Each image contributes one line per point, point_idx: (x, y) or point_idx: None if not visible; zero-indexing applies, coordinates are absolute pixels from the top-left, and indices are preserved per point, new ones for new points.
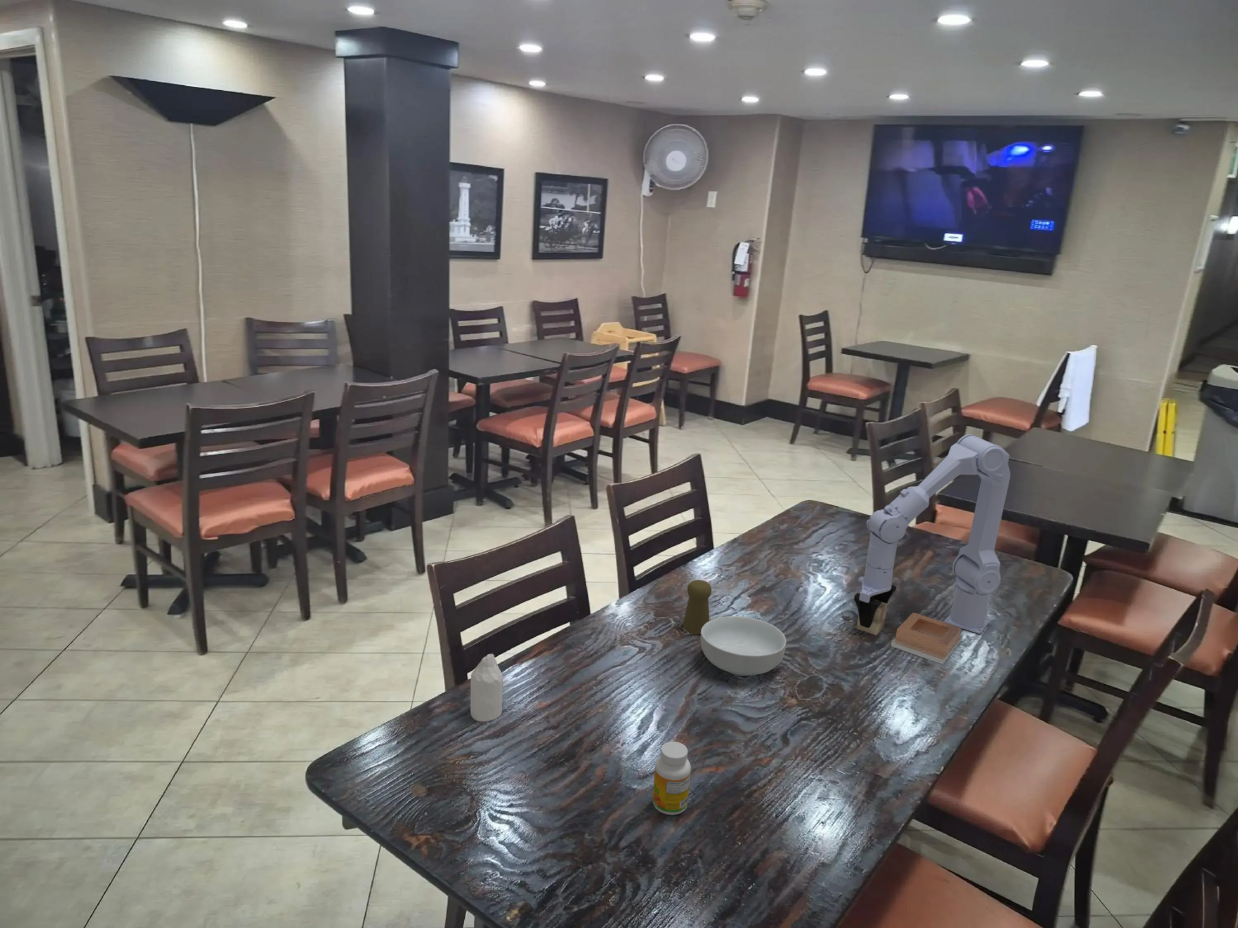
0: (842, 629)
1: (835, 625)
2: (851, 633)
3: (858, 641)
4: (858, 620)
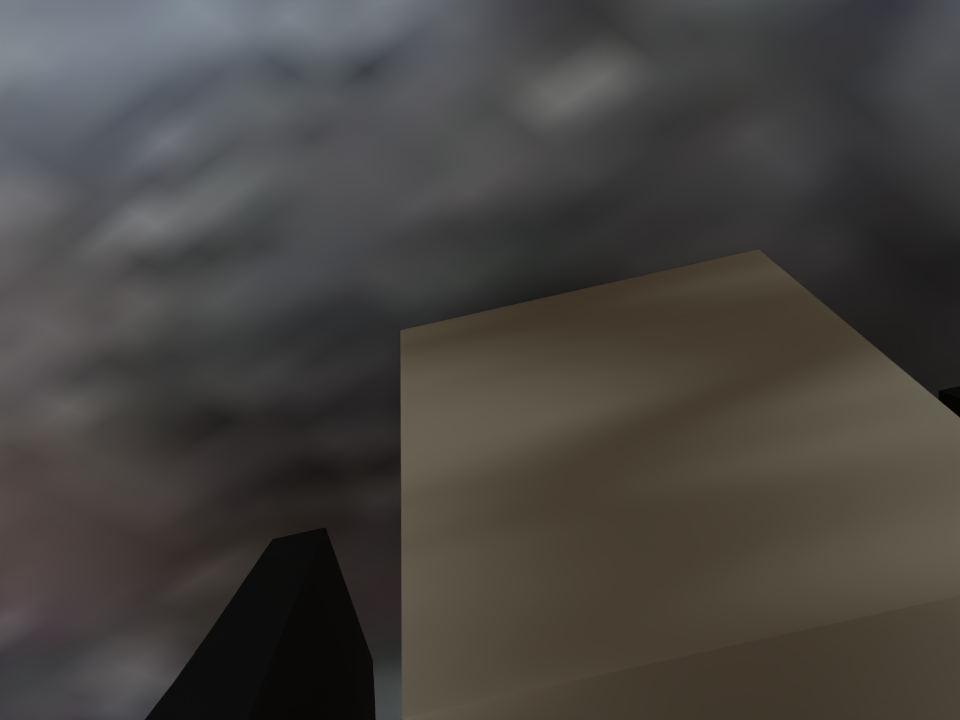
0: (117, 210)
1: (110, 14)
2: (157, 390)
3: (54, 590)
4: (404, 422)
